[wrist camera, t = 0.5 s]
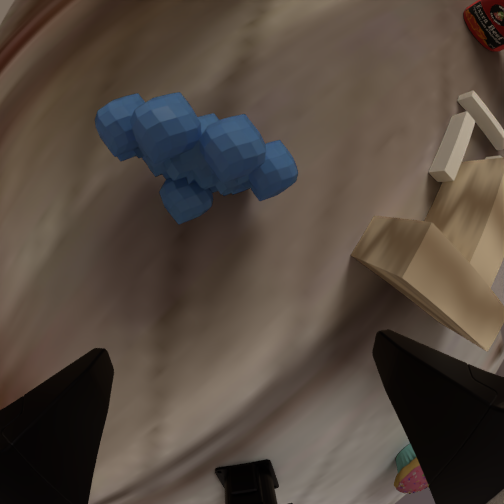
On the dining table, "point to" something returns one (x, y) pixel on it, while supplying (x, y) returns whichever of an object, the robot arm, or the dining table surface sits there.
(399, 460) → the cupcake
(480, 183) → the t block
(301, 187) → the dining table surface
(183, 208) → the grapes
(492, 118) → the slot guide
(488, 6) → the canned food
